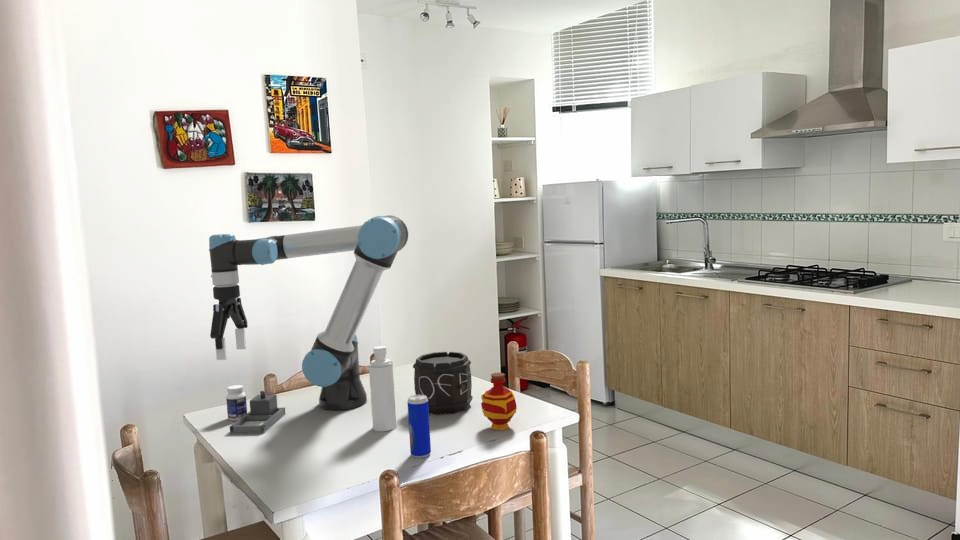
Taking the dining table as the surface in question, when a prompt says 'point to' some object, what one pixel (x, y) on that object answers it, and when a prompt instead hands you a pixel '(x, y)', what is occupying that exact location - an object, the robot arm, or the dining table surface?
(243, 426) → the gray tray with block
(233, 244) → the robot arm
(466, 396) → the wooden barrel
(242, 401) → the pill bottle
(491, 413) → the potion bottle
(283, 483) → the dining table surface
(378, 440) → the dining table surface
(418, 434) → the beverage can
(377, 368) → the spray bottle
